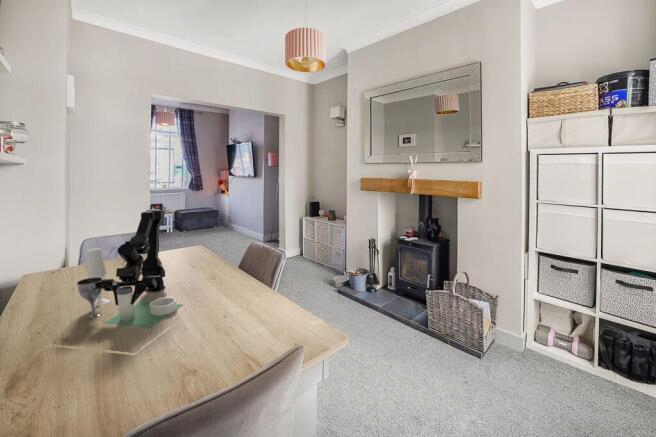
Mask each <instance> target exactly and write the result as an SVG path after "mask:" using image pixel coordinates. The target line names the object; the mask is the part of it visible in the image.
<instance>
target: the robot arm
mask: <svg viewBox="0 0 656 437" xmlns="http://www.w3.org/2000/svg"><path fill="white" fill-rule="evenodd" d="M164 219H165V211H163V210H162V209H158V208H157V209H146V210H145V211H143V212H141V213H140V220H139V223H138V227H137V229H136V233H135V234H134V236H132V237H130V240H128V241H127V240H126V241H125V242H124V243H123V244H121V245H119V247H118V248H117V253H118V255H119V257H120V258H121V259H122V260H123V261H124V262H125V266H123V267H119V268H118V267H117V268H116V271H115V272H116V273H115V277H116V278H118V280H120V281H116V280H115V279H114V278H103V279H102V281H101V283H100V286H101V287H102V288H103V289H102V290H103V291H105V292H112V293H113V296H114V303H115V306H116V307H117V306H118V298H117V292H116V290H117V289H119V288H121V287H128V286H129V287H134V289H133V290H134V291H133V297H132V301H131V304H135V303H136V301H138V299H139V297H140V296H142V294H144V292H154V293H157V292H159V291H161V290H163V289H165V288H166V286H165V284H164V279H163V278H165V277H166V270H165V268H164V266H163V265H162V264H163V263H162V260H161V259H160V258H159V246H160V227H162V225H163V224H164ZM145 254H146V258H145V259H144V257H143V256H142V255H145ZM141 276H142V278H141V280H140V277H141Z"/></svg>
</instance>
